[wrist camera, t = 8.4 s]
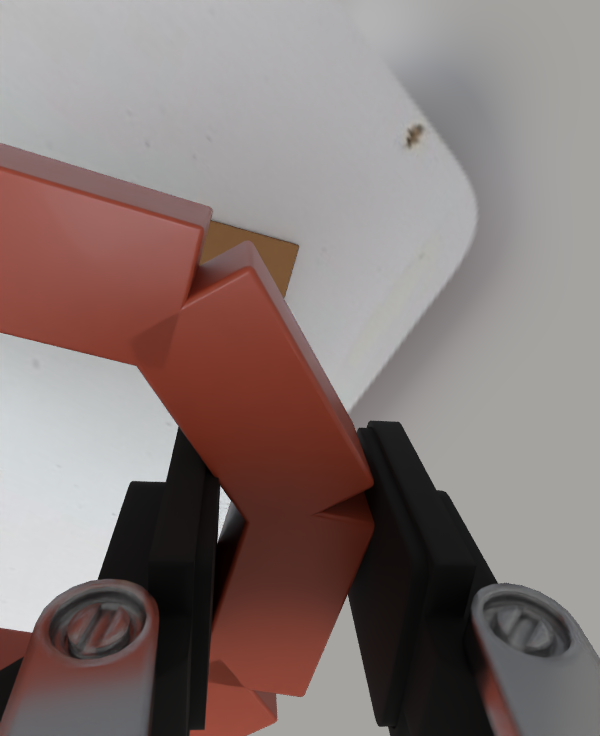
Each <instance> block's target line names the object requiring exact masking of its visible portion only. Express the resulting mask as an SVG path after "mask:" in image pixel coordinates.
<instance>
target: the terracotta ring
mask: <svg viewBox="0 0 600 736" xmlns="http://www.w3.org/2000/svg"><path fill="white" fill-rule="evenodd" d="M212 212H213V211H212V208H210V207H209V206H205V205H202V204H199V203H195V202H192V201H189V200H186V199H182V198H179V197H176V196H172V195H169V194H166V193H163V192H159V191H156V190H153V189H150V188H146V187H143V186H140V185H136V184H133V183H130V182H127V181H123V180H120V179H117V178H114V177H110V176H107V175H104V174H100V173H97V172H94V171H91V170H87V169H84V168H81V167H77V166H74V165H71V164H68V163H64V162H61V161H58V160H55V159H51V158H48V157H45V156H41V155H38V154H35V153H32V152H28V151H25V150H22V149H18V148H15V147H12V146H9V145H5V144H2V143H0V333H4V334H8V335H12V336H17V337H21V338H25V339H29V340H33V341H37V342H41V343H45V344H49V345H53V346H57V347H61V348H65V349H69V350H74V351H78V352H82V353H86V354H90V355H94V356H98V357H102V358H106V359H110V360H114V361H118V362H122V363H127V364H131V365H135V366H137V368H138V369H139V370H140V372H141V373H142V375H143V376H144V377H145V379H146V380H147V382H148V383H149V385H150V386H151V387H152V389H153V390H154V392H155V393H156V395H157V396H158V397H159V399H160V400H161V402H162V403H163V405H164V406H165V407H166V409H167V410H168V412H169V413H170V415H171V416H172V417H173V419H174V420H175V422H176V423H177V424H178V426H179V427H180V429H181V430H182V432H183V433H184V434H185V436H186V437H187V439H188V440H189V442H190V443H191V444H192V446H193V447H194V449H195V450H196V452H197V453H198V454H199V456H200V457H201V459H202V460H203V462H204V463H205V464H206V466H207V467H208V469H209V470H210V471H211V473H212V474H213V476H214V477H217V478H219V484H220V486H221V487H222V489H223V490H224V491H225V493H226V494H227V496H228V497H229V499H230V500H231V502H230V506H229V509H228V512H227V515H226V518H225V521H224V525H223V528H222V531H221V534H220V537H219V540H218V544H217V555H216V569H215V584H214V598H213V613H212V630H211V645H210V660H209V675H208V689H207V704H206V719H205V730H190V736H247V735H249V734H251V733H254V732H256V731H258V730H260V729H262V728H265V727H267V726H269V725H271V724H273V723H275V722H276V721H277V706H276V705H277V704H276V694H283V695H290V696H297V697H302V696H304V695H305V693H306V690H307V688H308V686H309V683H310V681H311V678H312V676H313V674H314V672H315V669H316V667H317V665H318V662H319V660H320V658H321V655H322V653H323V651H324V648H325V646H326V644H327V641H328V639H329V636H330V634H331V632H332V629H333V627H334V625H335V623H336V620H337V618H338V615H339V613H340V611H341V609H342V606H343V604H344V601H345V599H346V597H347V595H348V592H349V590H350V588H351V585H352V583H353V581H354V578H355V576H356V574H357V571H358V569H359V567H360V564H361V562H362V560H363V557H364V555H365V553H366V550H367V548H368V546H369V543H370V541H371V539H372V536H373V532H374V526H375V525H374V521H373V518H372V515H371V511H370V508H369V505H368V502H367V499H366V496H365V493H364V491H365V490H367V489H369V488H371V487H372V486H373V485H374V479H373V476H372V474H371V471H370V468H369V465H368V463H367V460H366V457H365V455H364V452H363V449H362V447H361V444H360V441H359V438H358V436H357V433H356V431H355V428H354V425H353V423H352V421H351V419H350V417H349V415H348V414H347V412H346V410H345V408H344V406H343V404H342V403H341V401H340V399H339V397H338V395H337V394H336V392H335V390H334V388H333V386H332V385H331V383H330V381H329V379H328V377H327V376H326V374H325V372H324V370H323V368H322V367H321V365H320V363H319V361H318V359H317V358H316V356H315V354H314V352H313V350H312V349H311V347H310V345H309V343H308V341H307V340H306V338H305V336H304V334H303V332H302V331H301V329H300V327H299V325H298V323H297V321H296V320H295V318H294V316H293V314H292V312H291V311H290V309H289V307H288V305H287V303H286V302H285V300H284V298H283V296H282V294H281V293H280V291H279V289H278V287H277V285H276V284H275V282H274V280H273V278H272V276H271V275H270V273H269V271H268V269H267V267H266V266H265V264H264V262H263V260H262V258H261V257H260V255H259V253H258V251H257V249H256V248H255V246H254V244H253V243H252V242H251V241H250V240H249V241H244V242H242V243H240V244H238V245H236V246H235V247H233V248H231V249H229V250H227V251H226V252H224V253H222V254H220V255H218V256H216V257H215V258H213V259H211V260H209V261H207V262H206V263H204V264H202V265H200V266H199V264H200V260H201V256H202V252H203V248H204V244H205V240H206V236H207V232H208V228H209V224H210V220H211V216H212ZM31 635H32V633H30V632H24V631H17V630H10V629H4V628H0V670H2V669H3V668H5V667H7V666H8V665H10V664H12V663H13V662H15V661H17V660H18V659H20V658H22V657H23V656H24V655H25V652H26V649H27V647H28V644H29V641H30V638H31Z"/></svg>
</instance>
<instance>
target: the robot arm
mask: <svg viewBox="0 0 600 736" xmlns="http://www.w3.org/2000/svg"><path fill="white" fill-rule="evenodd" d="M357 436H358V438H359V441H360V444H361V447H362V449H363V452H364V455H365V457H366V460H367V463H368V465H369V468H370V471H371V474H372V476H373V479H374V485H373V486H372V487H371V488H369V489H367V490H365V491H364V493H365V496H366V499H367V502H368V505H369V508H370V511H371V515H372V518H373V521H374V525H375V526H374V532H373V536H372V539H371V541H370V543H369V546H368V548H367V550H366V553H365V555H364V557H363V560H362V562H361V564H360V567H359V569H358V571H357V574H356V576H355V578H354V581H353V583H352V585H351V588H350V590H349V592H348V597H349V602H350V606H351V611H352V615H353V620H354V624H355V629H356V633H357V638H358V643H359V647H360V651H361V656H362V660H363V665H364V670H365V674H366V678H367V683H368V687H369V692H370V697H371V701H372V706H373V710H374V715H375V718H376V722H377V724H378V726H380V727H383V726H388V728H389V732H390V736H600V658H599V657H598V655H597V653H596V652H595V650H594V649H593V647H592V645H591V644H590V642H589V640H588V639H587V637H586V636H585V634H584V632H583V631H582V629H581V628H580V626H579V624H578V623H577V622H576V621H575V619H574V618H573V617H572V616H571V614H570V613H569V612H568V611H567V610H566V609H565V608H563V607H562V606H561V605H560V604H558V603H557V602H556V601H555V600H553V599H551V598H549V597H548V596H546V595H544V594H543V593H541V592H539V591H536V590H533V589H531V588H528V587H525V586H522V585H515V584H509V583H500V584H498V583H497V581H496V579H495V577H494V576H493V574H492V572H491V570H490V568H489V567H488V565H487V563H486V561H485V559H484V558H483V556H482V554H481V552H480V550H479V549H478V547H477V545H476V543H475V542H474V540H473V538H472V536H471V534H470V533H469V531H468V529H467V527H466V525H465V524H464V522H463V520H462V518H461V517H460V515H459V513H458V511H457V509H456V508H455V506H454V504H453V502H452V501H451V499H450V497H449V496H448V494H447V493H446V492H444V491H439V490H436V489H435V487H434V485H433V483H432V481H431V479H430V477H429V475H428V474H427V472H426V470H425V468H424V466H423V464H422V462H421V461H420V459H419V457H418V455H417V453H416V451H415V449H414V447H413V446H412V444H411V442H410V440H409V438H408V436H407V434H406V432H405V431H404V429H403V427H402V425H401V424H400V423H399V422H387V421H370V422H369V423H368V425H367V428H359V429H358V431H357ZM219 498H220V484H219V478H217V477H214V476H213V474H212V473H211V471H210V470H209V469H208V467H207V466H206V464H205V463H204V462H203V460H202V459H201V457H200V456H199V454H198V453H197V452H196V450H195V449H194V447H193V446H192V444H191V443H190V442H189V440H188V439H187V437H186V436H185V434H184V433H183V432H182V430H181V429H180V427H178V432H177V436H176V440H175V445H174V449H173V454H172V458H171V462H170V467H169V471H168V476H167V480H166V482H141V481H132V482H130V485H129V487H128V490H127V493H126V496H125V499H124V502H123V505H122V508H121V511H120V514H119V517H118V520H117V523H116V526H115V529H114V532H113V535H112V538H111V541H110V544H109V547H108V550H107V553H106V556H105V559H104V562H103V565H102V568H101V571H100V574H99V577H98V580H94V581H89V582H86V583H83V584H80V585H77V586H74V587H72V588H70V589H69V590H67V591H65V592H63V593H62V594H60V595H58V596H57V597H56V598H55V599H54V600H53V601H52V602H51V603H49V604H48V605H47V606H46V607H45V608H44V610H43V611H42V613H41V615H40V617H39V618H38V620H37V622H36V624H35V627H34V630H33V633H32V635H31V638H30V641H29V644H28V647H27V649H26V652H25V655H24V656H23V657H22V658H20V659H18V660H17V661H15V662H13V663H12V664H10V665H8V666H7V667H5V668H3V669H2V670H0V736H190V730H205V719H206V704H207V689H208V675H209V660H210V645H211V630H212V613H213V598H214V584H215V569H216V555H217V539H218V519H219Z"/></svg>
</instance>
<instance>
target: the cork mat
mask: <svg viewBox="0 0 600 736" xmlns="http://www.w3.org/2000/svg"><path fill="white" fill-rule="evenodd" d="M249 240H250V241H251V242H252V243H253V244H254V246H255V248H256V249H257V251H258V253H259V255H260V257H261V258H262V260H263V262H264V264H265V266H266V267H267V269H268V271H269V273H270V275H271V276H272V278H273V280H274V282H275V284H276V285H277V287H278V289H279V291H280V293H281V294H282V296H283V298H284V297H285V293H286V290H287V287H288V283H289V280H290V276H291V273H292V269H293V266H294V262H295V259H296V256H297V252H298V249H299V245H296V244H293V243H289V242H286V241H282V240H279V239H275V238H272V237H268V236H265V235H261V234H258V233H254V232H250V231H247V230H243V229H240V228H236V227H233V226H229V225H226V224H222V223H219V222H215V221H212V220H210V224H209V228H208V232H207V236H206V240H205V244H204V248H203V252H202V256H201V260H200V264H199V266H200V265H202V264H204V263H206V262H207V261H209V260H211V259H213V258H215V257H216V256H218V255H220V254H222V253H224V252H226V251H227V250H229V249H231V248H233V247H235V246H236V245H238V244H240V243H242V242H244V241H249Z"/></svg>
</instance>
